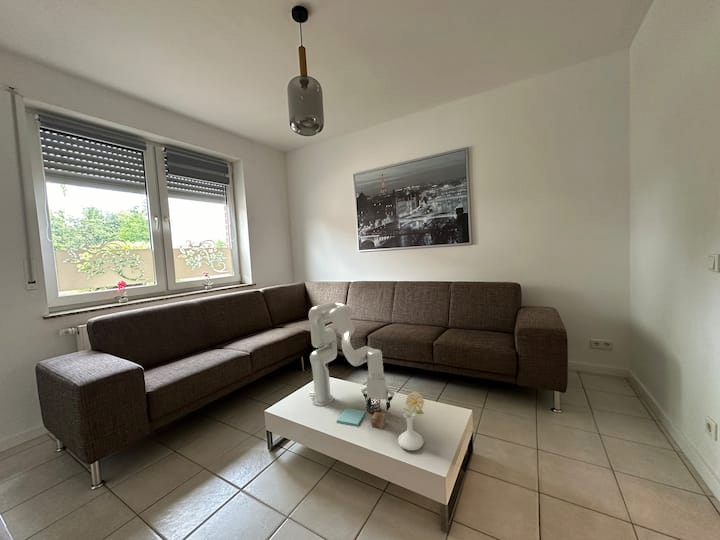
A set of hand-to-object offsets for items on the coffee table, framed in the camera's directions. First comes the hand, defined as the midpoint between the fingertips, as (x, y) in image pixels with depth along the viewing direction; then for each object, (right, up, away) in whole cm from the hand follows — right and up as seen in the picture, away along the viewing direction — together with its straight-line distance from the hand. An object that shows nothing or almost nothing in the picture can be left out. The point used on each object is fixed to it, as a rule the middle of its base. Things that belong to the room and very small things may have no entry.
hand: (378, 407), depth 143 cm
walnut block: (0, -9, +1) cm, 9 cm away
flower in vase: (+14, -10, -15) cm, 23 cm away
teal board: (-14, -10, +9) cm, 19 cm away
